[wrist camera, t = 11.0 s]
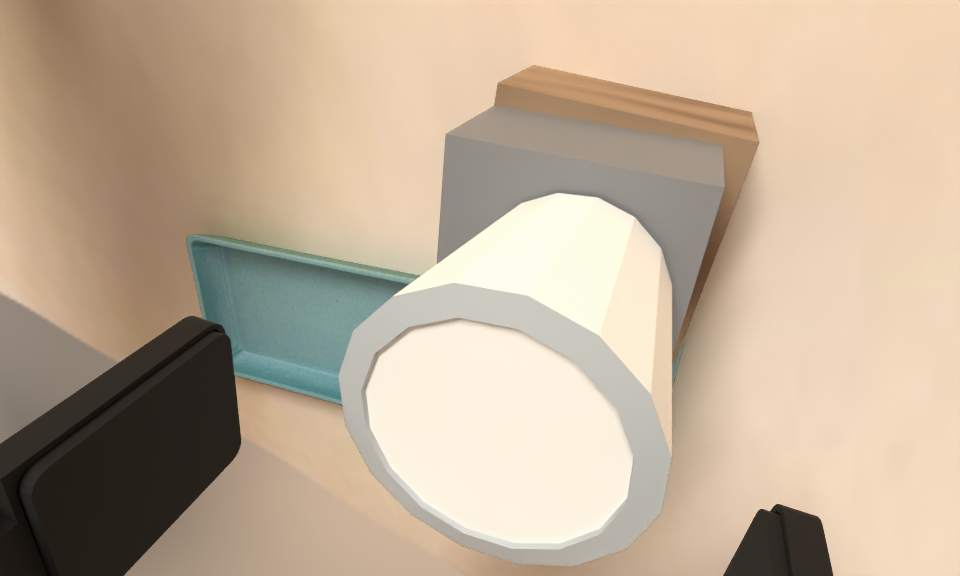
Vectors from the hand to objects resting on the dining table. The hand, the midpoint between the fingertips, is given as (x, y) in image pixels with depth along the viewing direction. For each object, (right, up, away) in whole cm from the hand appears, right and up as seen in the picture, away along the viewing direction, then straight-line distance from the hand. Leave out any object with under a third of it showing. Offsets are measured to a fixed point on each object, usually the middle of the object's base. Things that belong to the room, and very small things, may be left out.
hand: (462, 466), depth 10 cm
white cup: (+3, +3, +7) cm, 9 cm away
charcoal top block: (+4, +5, +11) cm, 13 cm away
